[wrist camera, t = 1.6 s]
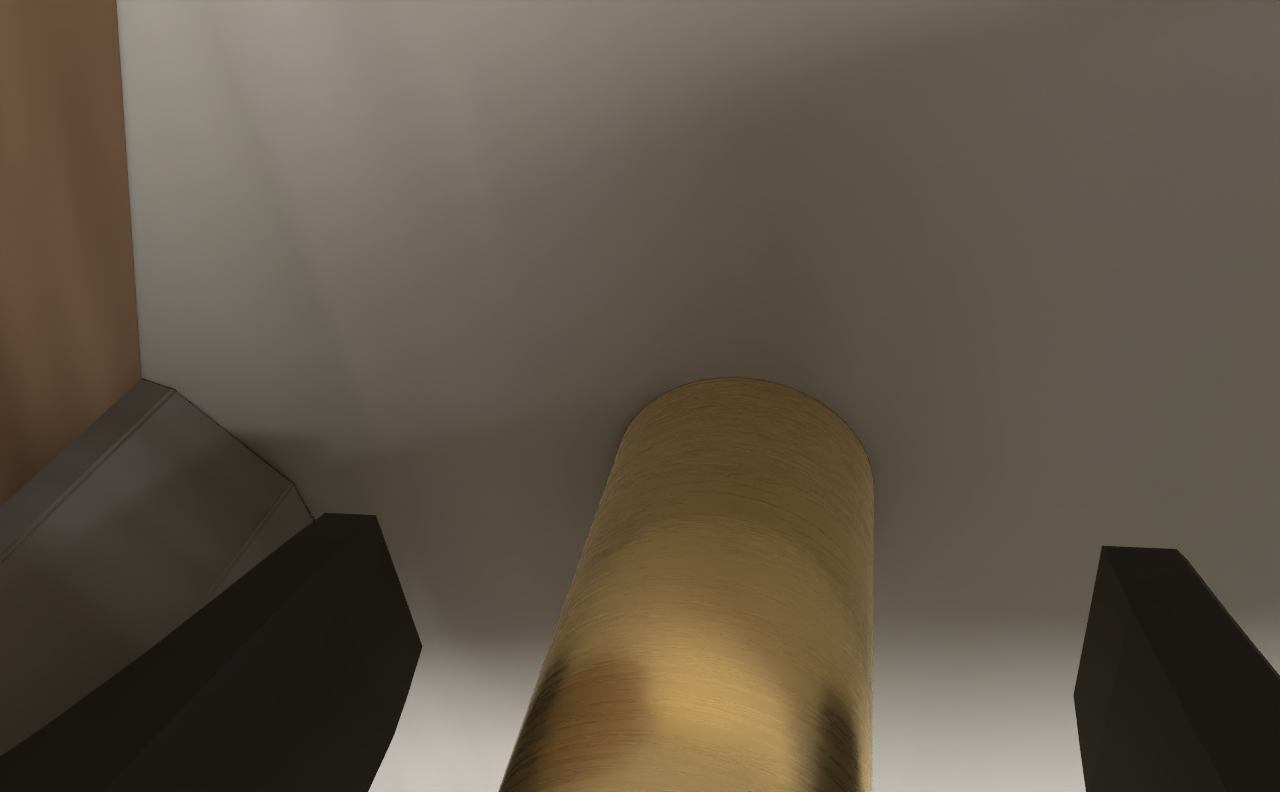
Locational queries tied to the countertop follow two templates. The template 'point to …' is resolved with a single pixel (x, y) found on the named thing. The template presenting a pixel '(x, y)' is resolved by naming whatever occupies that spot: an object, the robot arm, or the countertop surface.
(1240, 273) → the countertop surface
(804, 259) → the countertop surface
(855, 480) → the pin
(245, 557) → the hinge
